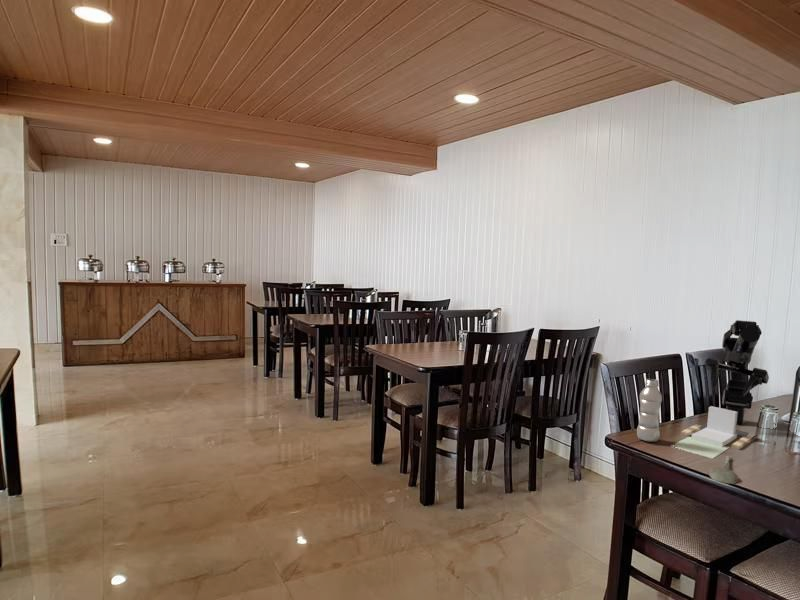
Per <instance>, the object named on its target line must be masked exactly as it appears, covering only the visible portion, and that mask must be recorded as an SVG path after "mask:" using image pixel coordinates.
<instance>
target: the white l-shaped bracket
mask: <svg viewBox="0 0 800 600" xmlns="http://www.w3.org/2000/svg"><path fill="white" fill-rule="evenodd" d="M737 414H738V412H736V411H731V410H727V409H726V408H723V407H722V408H721V407H718V406H712V405H710V406H709V407H708V413H707V422H706V423H707V427H706V428H701V429H700V430H698V431H696V432H695V433H693V434H691V436H690V437H691V439H694V440H697V441H701V442H705V443H709V444H713V445H716V446H720V447H723V446H726V445H728V444H729V443H732V441H734V440H736V439H737V438H738V436H737V434H735V433H736V430H737V424H736V423H737Z"/></svg>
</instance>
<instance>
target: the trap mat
mask: <svg viewBox="0 0 800 600" xmlns="http://www.w3.org/2000/svg"><path fill="white" fill-rule="evenodd" d="M700 425H701V426H702V429H704V428H706V427H707V422H704V423H702V424H700ZM749 433H750V432H747V431H742V430H739V429H736V433H735V434H737V437H740V436H742V437H744V436H746V437H747V435H748V434H749ZM742 437H741V438H742Z"/></svg>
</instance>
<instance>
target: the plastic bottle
mask: <svg viewBox="0 0 800 600" xmlns="http://www.w3.org/2000/svg"><path fill="white" fill-rule="evenodd" d="M659 383H660V382H659V379H654V378H646V379H645V383H644V385H645V387H644V388H643V389H642V390H641V391H640V393H639V404H640V405H639V406H640V407H639V410H640V411H639V420H638V425H637V429H636V435H637V438H638V439H640V440H642V441H645V442H651V443H654V442H657V441H658V440H659V439H660V427H659V423H660V421H659V416H660V415H659V414H660V408H661V405H662V401H663V396H662V393H661V391H660V390H659V388H658V387H659Z"/></svg>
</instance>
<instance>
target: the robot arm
mask: <svg viewBox="0 0 800 600" xmlns="http://www.w3.org/2000/svg"><path fill="white" fill-rule="evenodd" d="M733 335H734V336H735V337H732V336H733ZM761 336H762V330H761V328H760V326H759V324H757V322H756V321H753V320H750V321H749V320H739V319H737V320H735V321H734V322H732V324H730V328H729V329H728V330H727V331H726V332H725V333H724V334H723V339H722V344H721V345H722V346H721V347H722V349H723V351H724V352H723V353H724V355H726V356H725V362H726V364H725V363H721V361H720V359H718V358H714V357H707V358H706V359H705V361H704V365H705V367H706V369H707V370H708V371H709V372H710V373H711V376H712V378H711V379H712V388H713V389H715V387H716V386H717V383H718V380H719V378H720V374H721V373H720V371H721V370H723V371H728V372H729V380H728V382H727V383H726V388H724V390H723V395H722V399H721V400H722V401H721V403H722V405H723V406H726V408H725V409H727V410H731V411H736V412H738V414H737V423H736V425H739V426H742V425H744V424H746V423H747V421H746V420H744V415H745V409H748V410H750V409H752V403H753V399H754V396H753V395H752V392H750V391H751V390H753V389H754V388H755V387H757V386H759V385H763V384H765V385H767V384H768V382H769V379H770V376H769V373H768V370H766V369H762V368H757V367H753V369H752V370H751V369H748V367H749V364H750V363H751V360H752V356H753V354H754V351H755V348H756V346H757V344H758V341H759V340H760V337H761ZM745 375H746V376H748V377H749V379H748V381H745V380H744V376H745Z"/></svg>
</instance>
